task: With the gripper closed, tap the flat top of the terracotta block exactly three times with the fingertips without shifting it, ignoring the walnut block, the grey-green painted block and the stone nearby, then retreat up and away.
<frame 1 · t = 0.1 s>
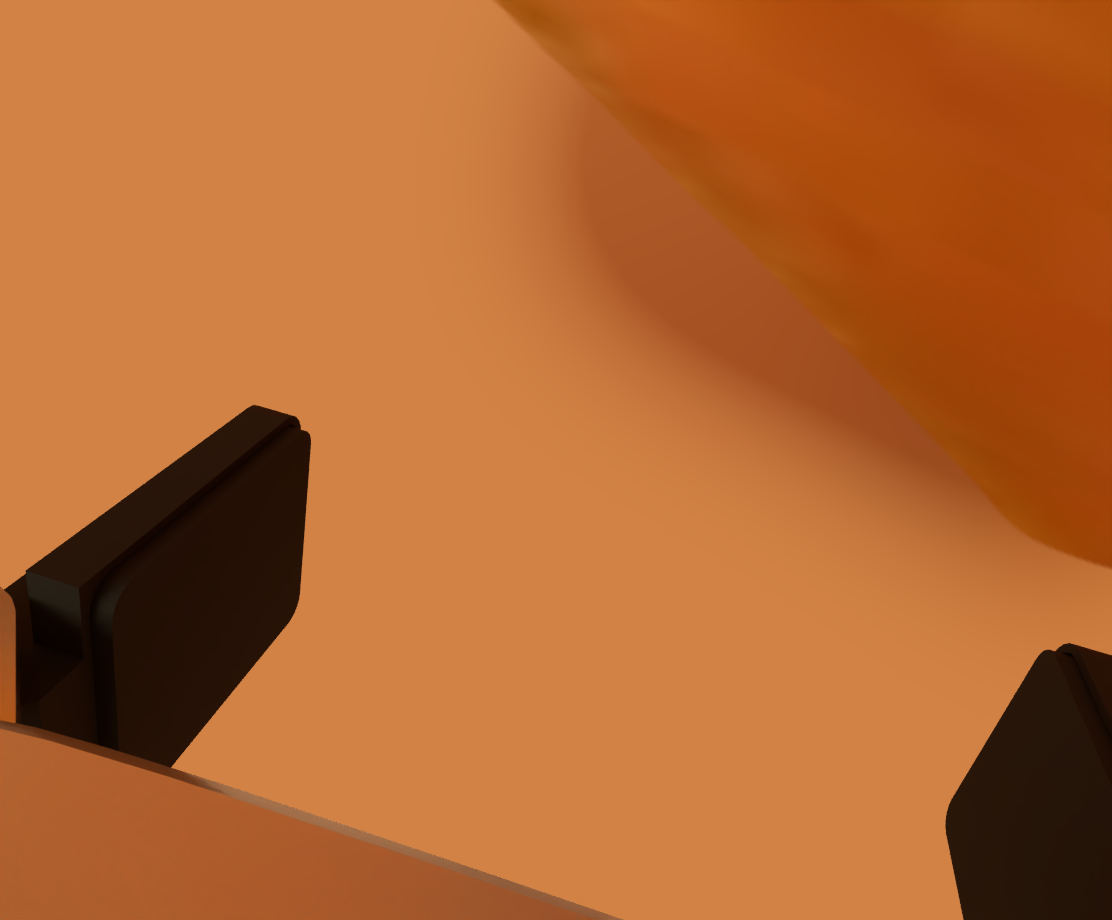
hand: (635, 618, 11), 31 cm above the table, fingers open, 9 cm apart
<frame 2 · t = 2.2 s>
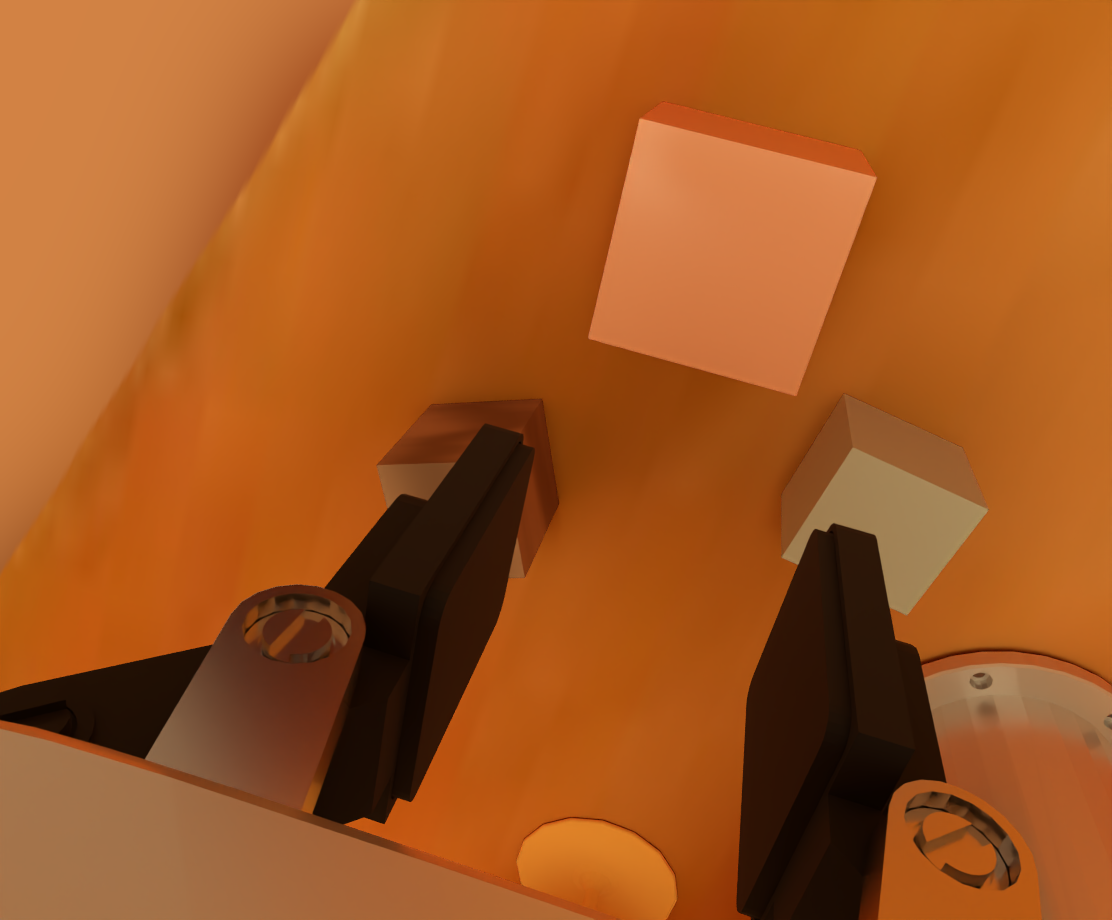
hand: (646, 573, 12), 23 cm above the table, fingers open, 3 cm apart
greygreen block: (868, 470, 36), on the table
walnut block: (495, 454, 39), on the table
terracotta block: (731, 224, 33), on the table
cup: (596, 873, 49), on the table
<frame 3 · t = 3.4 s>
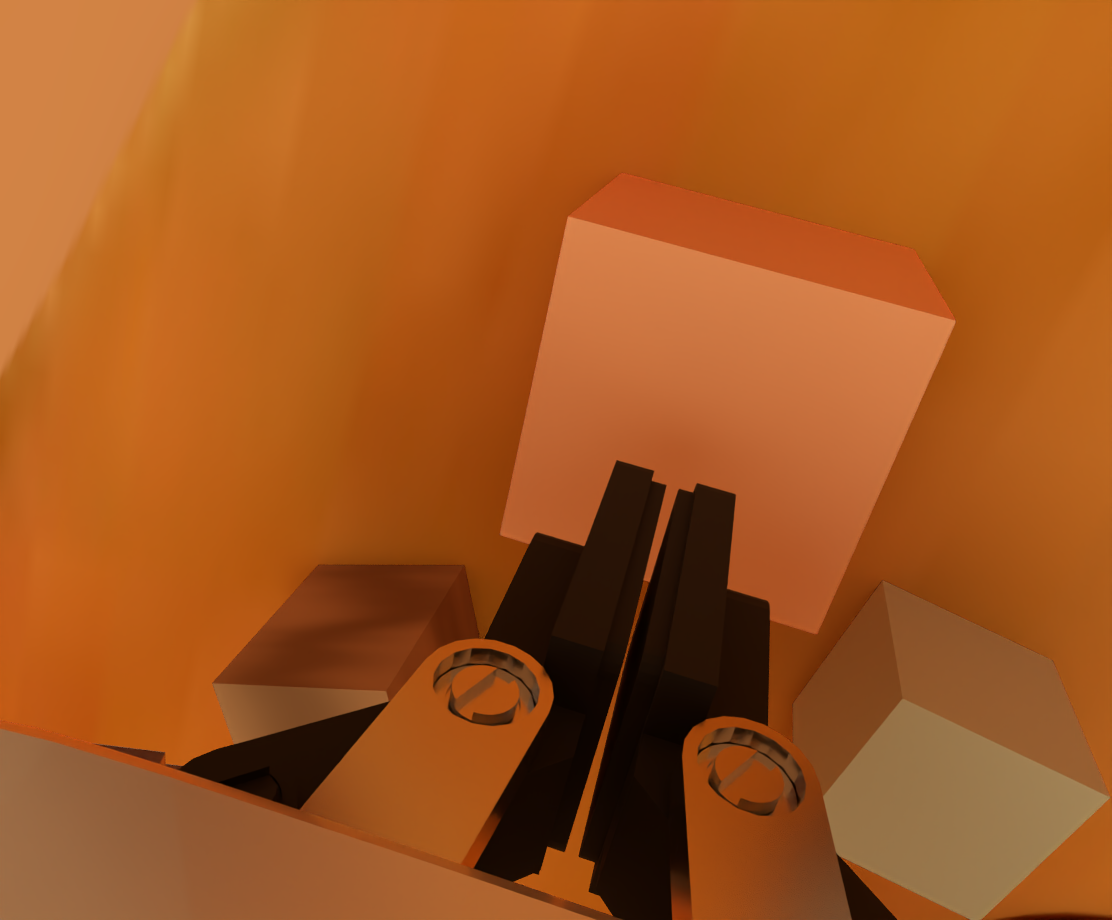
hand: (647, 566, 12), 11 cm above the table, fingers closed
greygreen block: (915, 681, 25), on the table
walnut block: (406, 630, 29), on the table
terracotta block: (721, 346, 23), on the table
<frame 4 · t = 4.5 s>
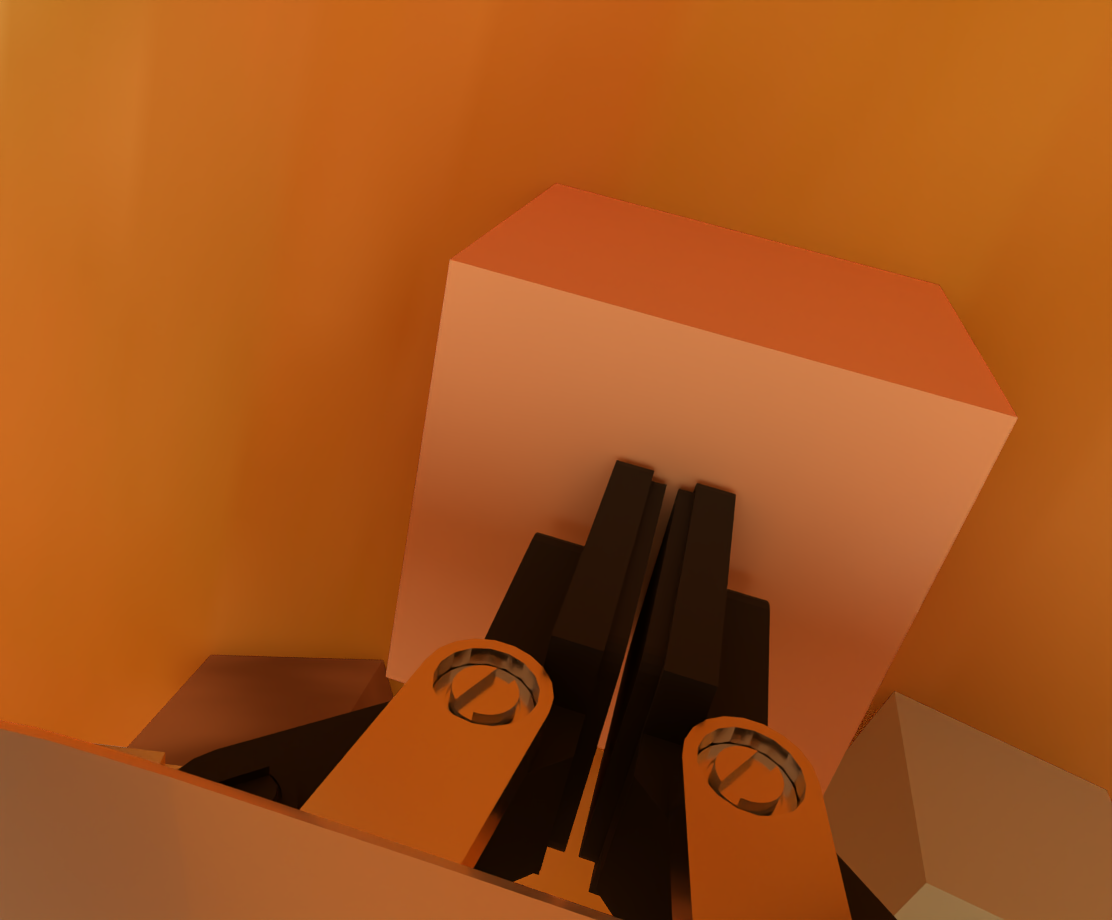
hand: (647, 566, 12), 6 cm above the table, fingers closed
greygreen block: (934, 807, 21), on the table
walnut block: (319, 731, 24), on the table
terracotta block: (689, 405, 18), on the table, touching gripper
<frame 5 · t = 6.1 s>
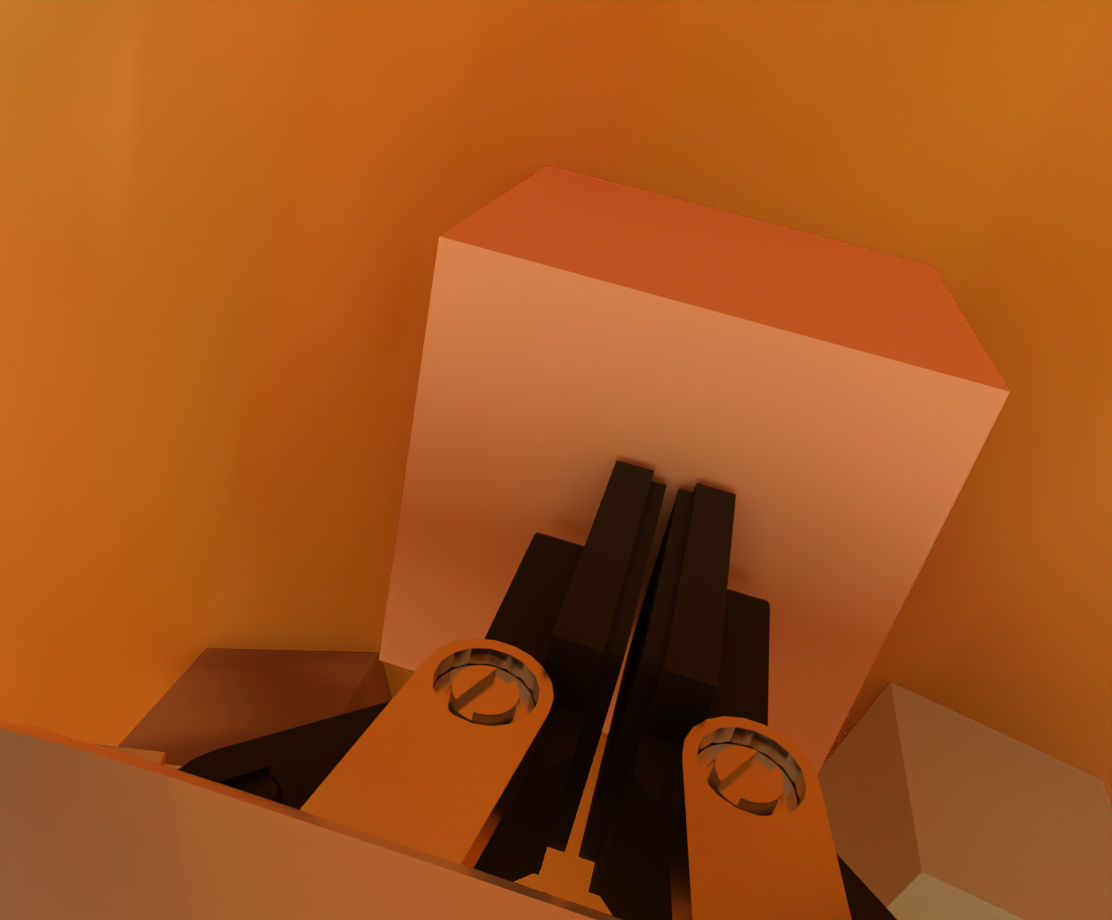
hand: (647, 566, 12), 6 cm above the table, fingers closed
greygreen block: (930, 797, 21), on the table
walnut block: (316, 724, 24), on the table
terracotta block: (683, 388, 18), on the table
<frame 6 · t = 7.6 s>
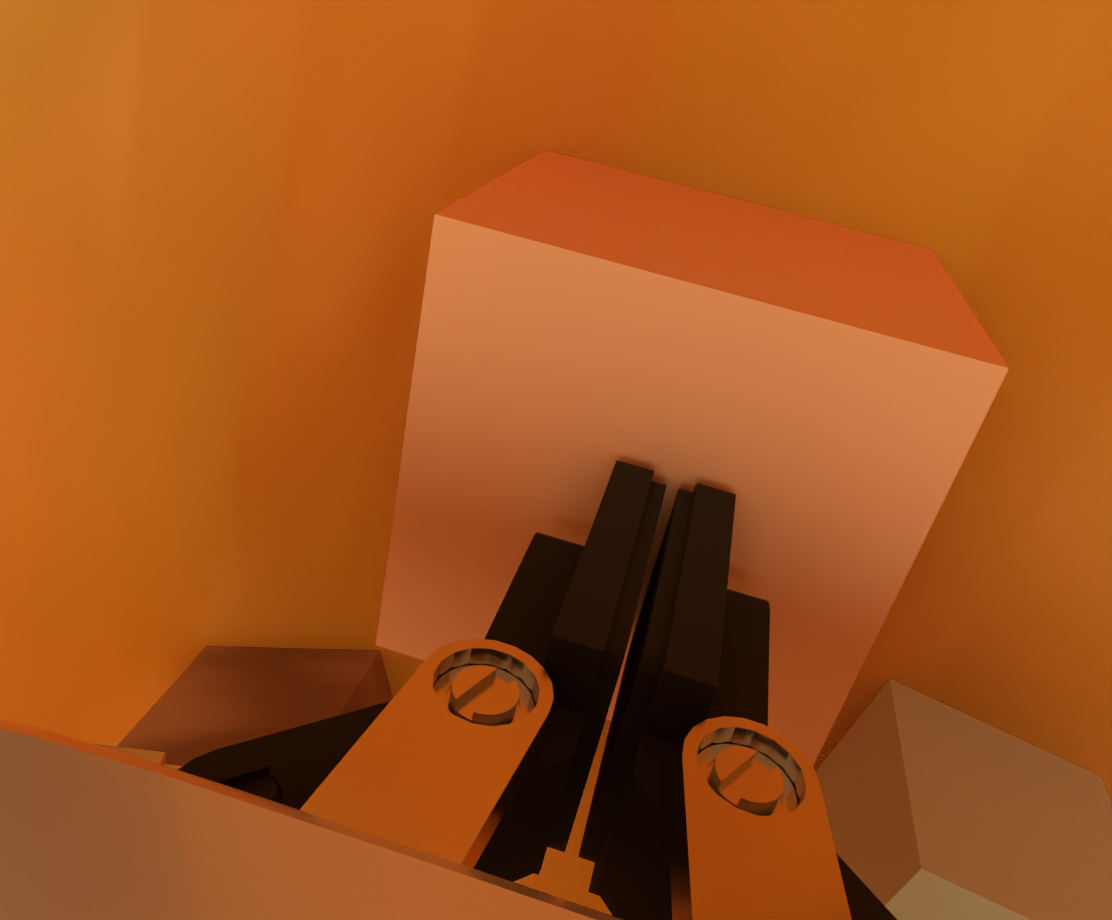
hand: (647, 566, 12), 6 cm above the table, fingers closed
greygreen block: (929, 794, 21), on the table
walnut block: (316, 722, 24), on the table
terracotta block: (681, 375, 17), on the table
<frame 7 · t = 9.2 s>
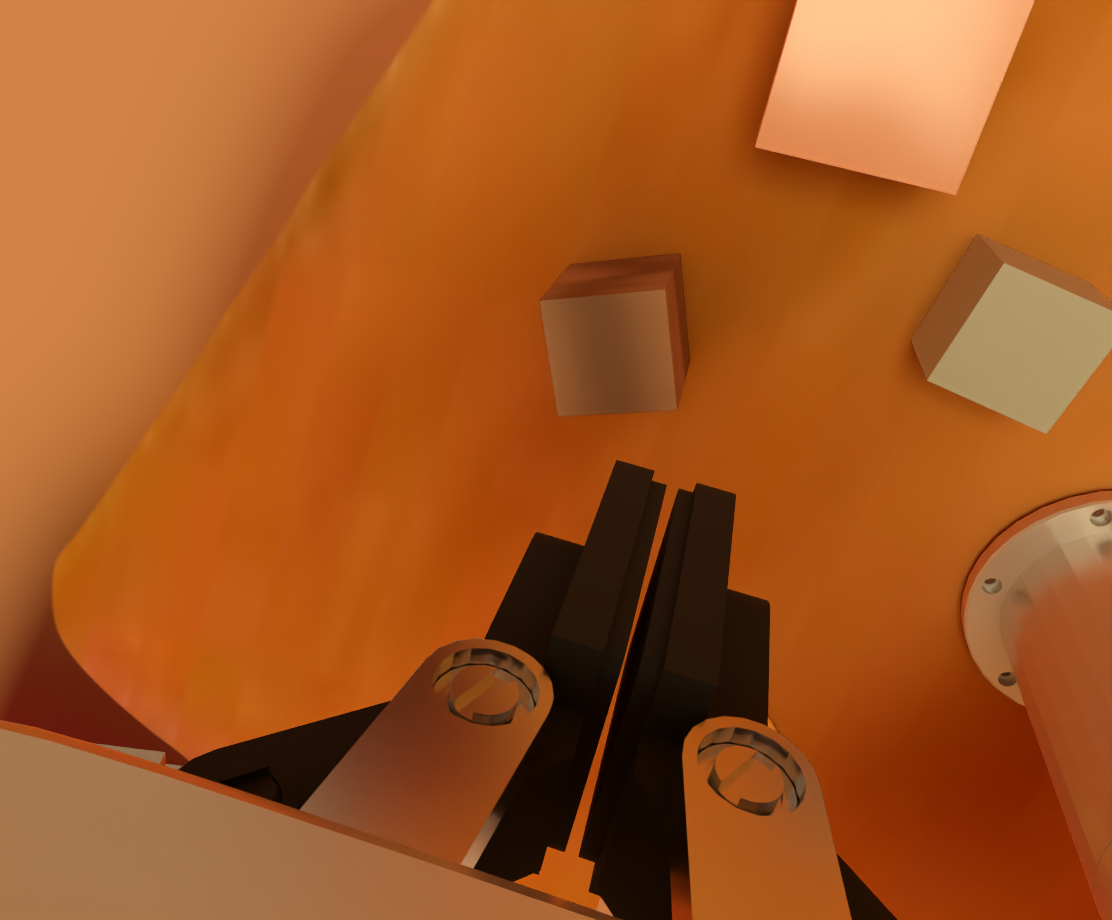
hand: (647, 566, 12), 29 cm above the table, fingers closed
greygreen block: (997, 312, 37), on the table
walnut block: (630, 312, 41), on the table
terracotta block: (874, 55, 34), on the table
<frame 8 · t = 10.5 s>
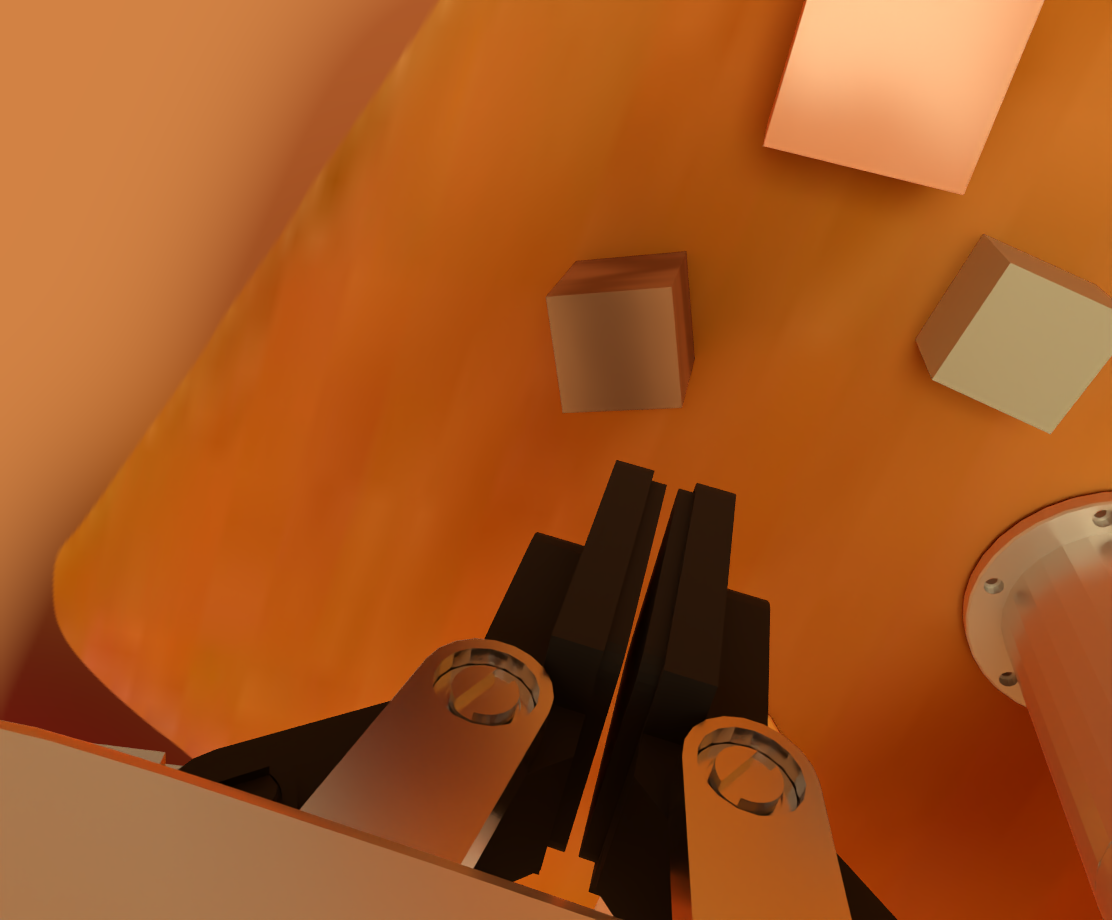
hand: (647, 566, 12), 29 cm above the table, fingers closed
greygreen block: (1002, 312, 37), on the table
walnut block: (636, 310, 41), on the table
terracotta block: (882, 55, 34), on the table
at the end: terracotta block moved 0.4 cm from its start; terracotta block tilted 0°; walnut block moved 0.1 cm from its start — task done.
